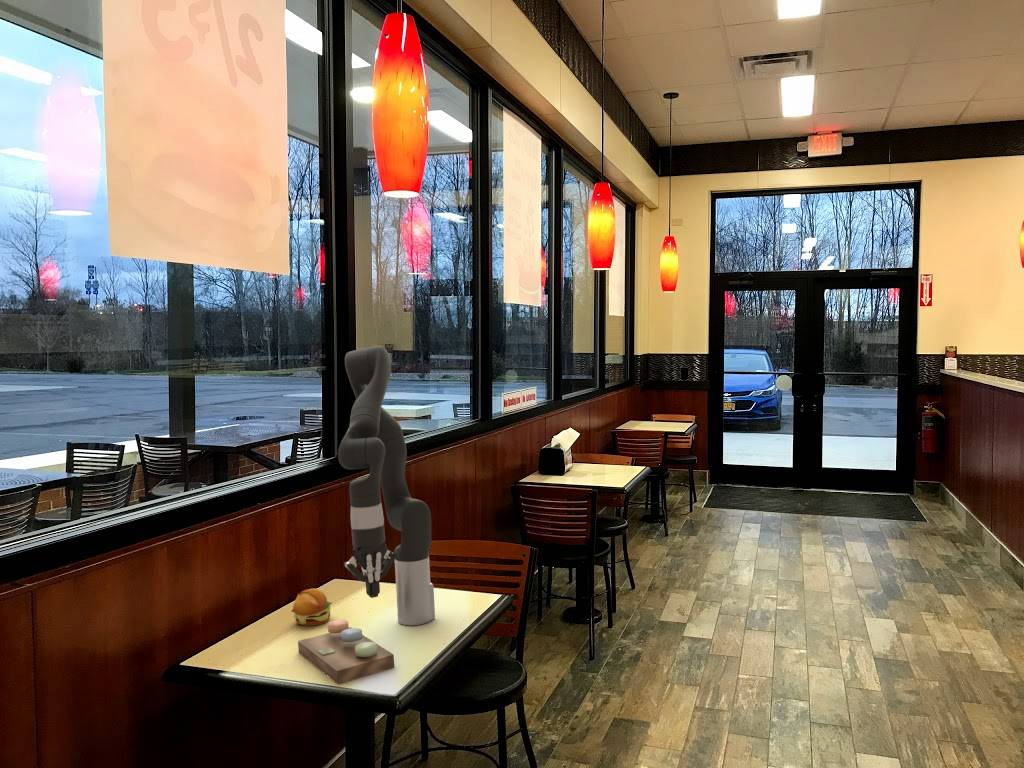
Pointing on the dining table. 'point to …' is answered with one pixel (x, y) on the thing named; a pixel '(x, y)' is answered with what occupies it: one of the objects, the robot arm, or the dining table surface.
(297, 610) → the cheeseburger
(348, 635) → the button slate
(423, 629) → the dining table surface
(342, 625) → the button terracotta
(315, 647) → the console
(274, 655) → the dining table surface
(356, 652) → the button sage
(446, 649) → the dining table surface
